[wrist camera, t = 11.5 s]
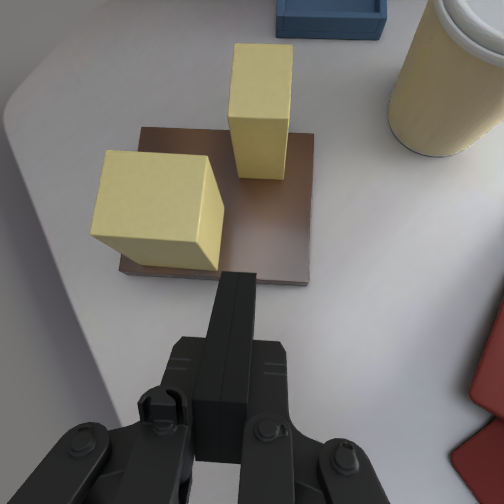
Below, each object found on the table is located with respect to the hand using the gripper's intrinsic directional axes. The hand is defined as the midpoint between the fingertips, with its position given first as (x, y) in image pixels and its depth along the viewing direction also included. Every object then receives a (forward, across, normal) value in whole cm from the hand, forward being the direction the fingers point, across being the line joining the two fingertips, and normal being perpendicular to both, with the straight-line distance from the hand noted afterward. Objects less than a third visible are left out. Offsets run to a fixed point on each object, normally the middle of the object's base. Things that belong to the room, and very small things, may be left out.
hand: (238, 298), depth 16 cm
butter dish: (+28, +6, +14) cm, 32 cm away
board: (+14, -2, -2) cm, 15 cm away
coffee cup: (+20, +15, +5) cm, 25 cm away
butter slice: (+16, 0, +3) cm, 16 cm away
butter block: (+11, -5, -3) cm, 13 cm away
